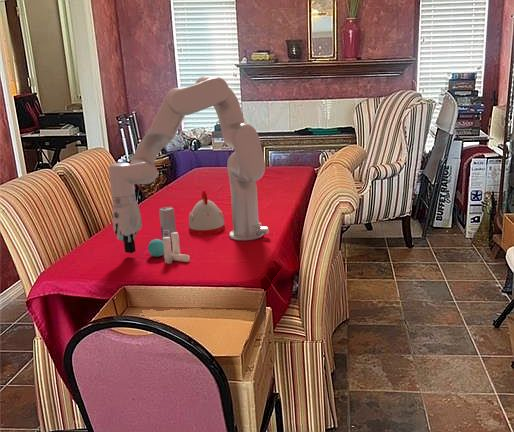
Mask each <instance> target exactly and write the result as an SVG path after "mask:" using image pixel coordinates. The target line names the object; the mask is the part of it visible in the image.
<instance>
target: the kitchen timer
mask: <svg viewBox="0 0 514 432" xmlns="http://www.w3.org/2000/svg"><path fill="white" fill-rule="evenodd" d="M188 215H189V216H188V231H189V233H192V234H194V235H195V234H196V235H211V234H216V233H219V232H222V231H223V230H225V226H226V225H225V220H224V215H223V211H222V210H221V209H220V208H219V206H217V204H215V202H213V201H212V200H210V199H209V198H208V194H207V192H206V191H205V190H203V191H202V193H201V200H199V201H198V202H197V203H196V204H195V205H194V207H193V208H192V210H191V211H190V212H189V214H188Z"/></svg>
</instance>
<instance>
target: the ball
mask: <svg viewBox="0 0 514 432" xmlns="http://www.w3.org/2000/svg"><path fill="white" fill-rule="evenodd" d="M147 249H148V250H147V251H148V253H149V254H150V255H151V256H152V257H156V258H158V257H162V255H163V256H164V246H163V240H162V239H159V238H154V239H152V240H151V241H150V242H149V243H148V246H147Z"/></svg>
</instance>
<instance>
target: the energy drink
mask: <svg viewBox="0 0 514 432" xmlns="http://www.w3.org/2000/svg"><path fill="white" fill-rule="evenodd" d="M158 215H159V223H160V231H161V233H160V235H161V240H162V241H163V238H164V237H170V241H171V242H172V238H171V233H173V232H177V229H176V228H177V227H176V218H175V209H174V207H173V206H164V207H160V208H159V210H158Z"/></svg>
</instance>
